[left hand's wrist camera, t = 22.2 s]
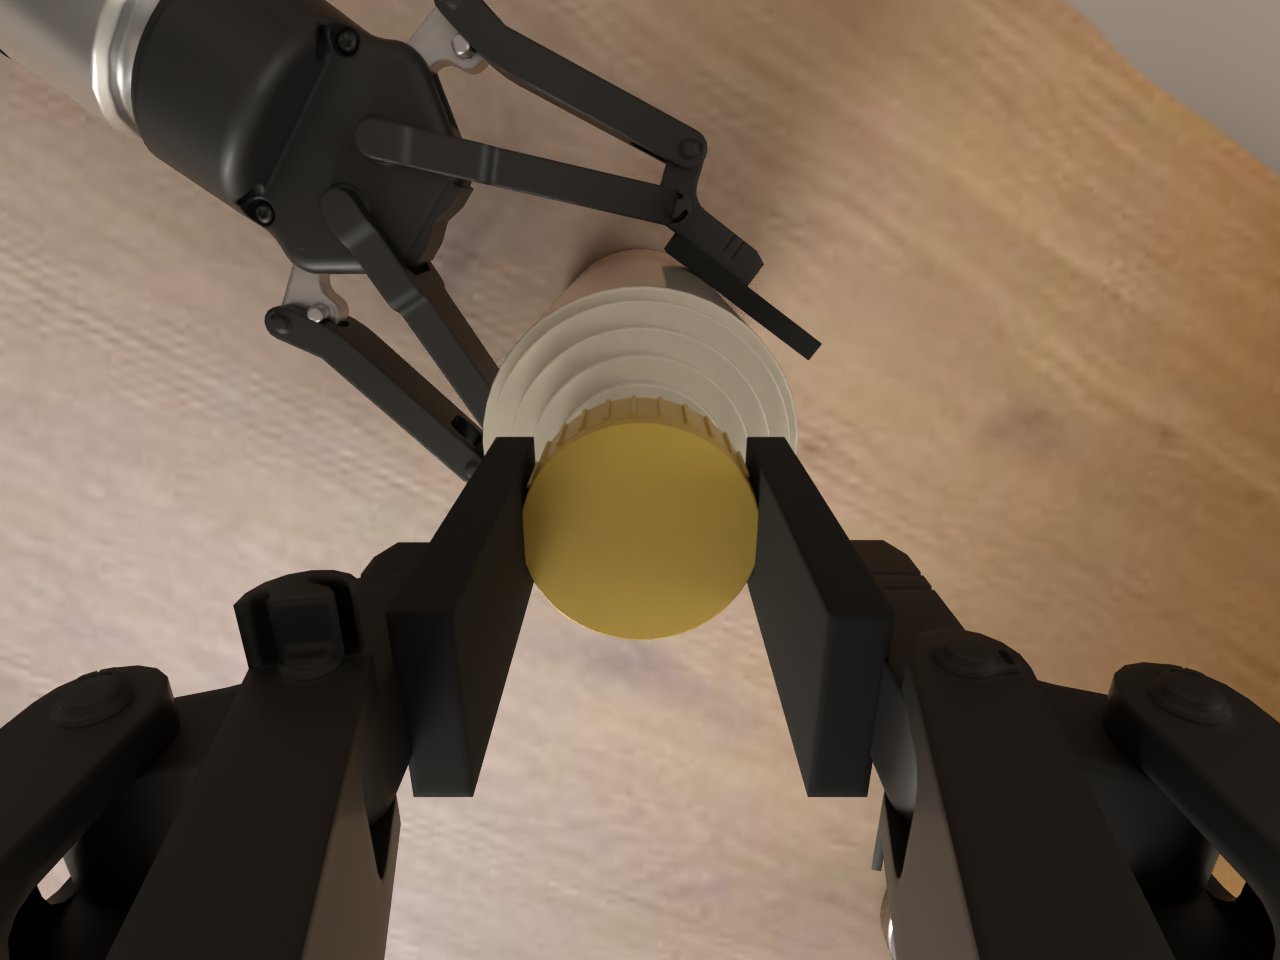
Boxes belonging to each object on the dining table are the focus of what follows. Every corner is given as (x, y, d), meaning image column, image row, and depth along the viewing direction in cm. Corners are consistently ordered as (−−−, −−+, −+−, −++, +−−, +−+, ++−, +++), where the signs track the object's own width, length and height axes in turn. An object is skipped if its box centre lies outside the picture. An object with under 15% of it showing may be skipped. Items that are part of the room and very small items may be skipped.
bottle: (521, 333, 33) (350, 509, 13) (644, 210, 31) (652, 209, 11) (636, 450, 35) (631, 747, 16) (758, 341, 33) (927, 528, 14)
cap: (509, 566, 15) (494, 611, 13) (560, 366, 13) (549, 388, 12) (710, 617, 15) (718, 665, 14) (781, 429, 14) (800, 459, 12)
